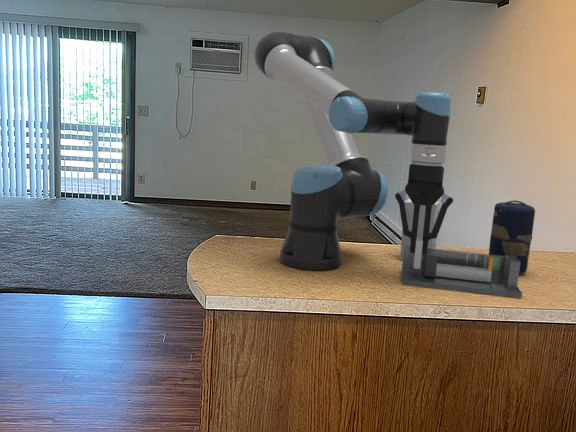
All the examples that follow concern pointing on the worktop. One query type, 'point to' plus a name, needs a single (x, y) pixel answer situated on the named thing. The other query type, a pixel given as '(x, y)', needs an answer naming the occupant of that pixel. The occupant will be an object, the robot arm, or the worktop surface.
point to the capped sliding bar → (456, 269)
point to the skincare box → (419, 224)
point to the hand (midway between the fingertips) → (416, 267)
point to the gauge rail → (500, 284)
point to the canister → (512, 231)
